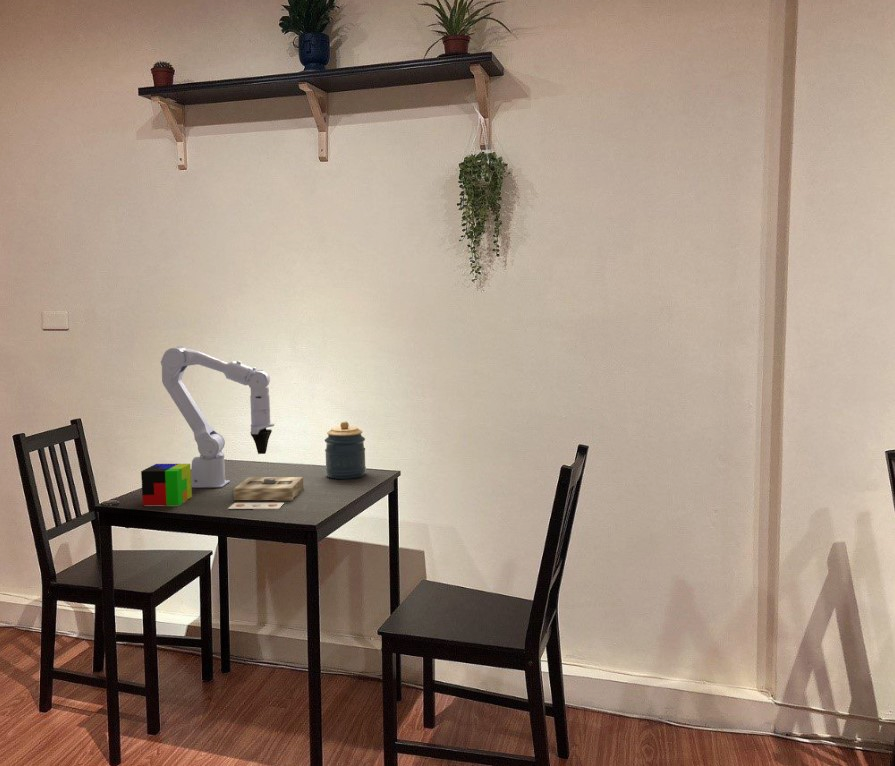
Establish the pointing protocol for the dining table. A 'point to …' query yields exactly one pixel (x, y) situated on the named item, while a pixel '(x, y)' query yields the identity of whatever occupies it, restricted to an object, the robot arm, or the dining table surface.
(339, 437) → the canister
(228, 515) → the dining table surface
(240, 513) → the dining table surface
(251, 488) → the button board
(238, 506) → the card
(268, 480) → the middle button
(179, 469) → the puzzle toy
